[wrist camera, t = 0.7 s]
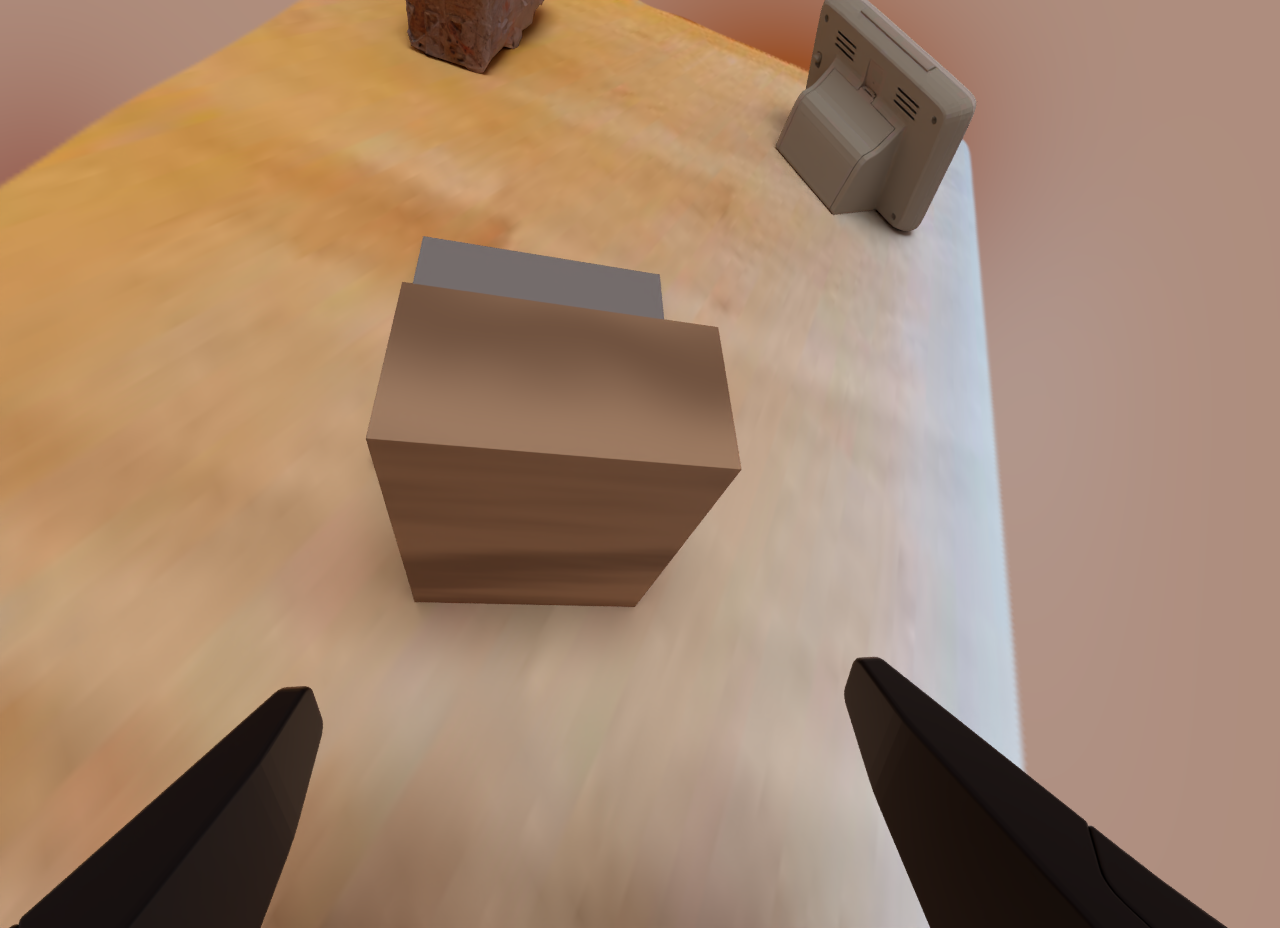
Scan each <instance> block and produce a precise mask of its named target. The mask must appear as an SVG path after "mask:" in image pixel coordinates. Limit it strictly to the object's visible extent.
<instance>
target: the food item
mask: <svg viewBox="0 0 1280 928" xmlns="http://www.w3.org/2000/svg"><path fill="white" fill-rule="evenodd" d="M543 1H544V0H406V11H407V16H408V27H409V29H408V31H407V33H408V35H409V38H410V42H411V45H412V46H413V47H415V48H417V49H419V50H421V51H423V52H424V53H425V54H427V55H428V54H429V55H431V56H434V57H437V58H441V59H443V60H447V61H450V62H452V63H456V64H459V65H462V66H465V67H466V68H467V69H468V70H470V71H473V72H476V73H482V72H484V70H485V69H486V67H487V66H488V64H489V62H490V61H491V59H492V58H493V57H494V56H495V55H496V54H497V53H498V52H499V51H500V50H501V48H502V47H503V46H504V47H508V48H513V49H514V48H517V47H518V46H519V42H520V40H521V38H522V30H523V29H525V28H527V27H528V26H529V25H530V24H532V21H533V15H534V14H535V11H536V9H537V8H538V7H539V5H542V3H543ZM411 40H413V41H411Z"/></svg>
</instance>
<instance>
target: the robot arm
mask: <svg viewBox="0 0 1280 928" xmlns="http://www.w3.org/2000/svg"><path fill="white" fill-rule="evenodd" d="M844 698H845V703H846V707H847V710H848V713H849V716H850V719H851V723H852V726H853V729H854V732H855V736H856V739H857V742H858V745H859V749H860V752H861V755H862V758H863V761H864V765H865V768H866V771H867V774H868V777H869V780H870V783H871V786H872V789H873V792H874V795H875V797H876V800H877V802H878V805H879V807H880V810H881V812H882V814H883V817H884V819H885V822H886V824H887V826H888V829H889V831H890V833H891V836H892V838H893V841H894V843H895V845H896V848H897V850H898V852H899V855H900V857H901V860H902V862H903V864H904V867H905V869H906V871H907V874H908V876H909V879H910V881H911V883H912V886H913V888H914V890H915V893H916V895H917V898H918V900H919V902H920V905H921V907H922V909H923V912H924V914H925V917H926V919H927V921H928V924H929V926H930V928H1227V927H1226V926H1224V925H1223V924H1222V923H1220V922H1219V921H1217V920H1216V919H1215V918H1213V917H1212V916H1210V915H1209V914H1207V913H1206V912H1205V911H1203V910H1202V909H1201V908H1199V907H1198V906H1196V905H1195V904H1194V903H1192V902H1191V901H1190V900H1188V899H1187V898H1186V897H1184V896H1183V895H1181V894H1180V893H1179V892H1177V891H1176V890H1175V889H1173V888H1172V887H1170V886H1169V885H1168V884H1166V883H1165V882H1164V881H1162V880H1161V879H1160V878H1158V877H1157V876H1155V875H1154V874H1153V873H1152V872H1150V871H1149V870H1148V869H1147V868H1145V867H1144V866H1143V865H1141V864H1140V863H1139V862H1138V861H1136V860H1135V859H1134V858H1132V857H1131V856H1130V855H1128V854H1127V853H1126V852H1125V851H1123V850H1122V849H1120V848H1119V847H1118V846H1117V845H1116V844H1114V843H1113V842H1112V841H1111V840H1109V839H1108V838H1107V837H1105V836H1104V835H1103V834H1102V833H1100V832H1099V831H1098V830H1097V829H1095V828H1094V827H1093V826H1088V824H1087V822H1086V821H1085V820H1084V819H1083V818H1081V817H1080V816H1079V815H1077V814H1076V813H1075V812H1074V811H1073V810H1071V809H1070V808H1069V807H1068V806H1066V805H1065V804H1064V803H1062V802H1061V801H1060V800H1059V799H1058V798H1056V797H1055V796H1054V795H1052V794H1051V793H1050V792H1049V791H1047V790H1046V789H1045V788H1044V787H1042V786H1041V785H1040V784H1039V783H1037V782H1036V781H1035V780H1034V779H1032V778H1031V777H1030V776H1029V775H1027V774H1026V773H1025V772H1024V771H1022V770H1021V769H1020V768H1019V767H1017V766H1016V765H1015V764H1014V763H1012V762H1011V761H1010V760H1008V759H1007V758H1006V757H1005V756H1003V755H1002V754H1001V753H1000V752H998V751H997V750H996V749H995V748H993V747H992V746H991V745H990V744H988V743H987V742H986V741H985V740H983V739H982V738H981V737H980V736H978V735H977V734H976V733H975V732H973V731H972V730H971V729H970V728H968V727H967V726H966V725H964V724H963V723H962V722H961V721H959V720H958V719H957V718H956V717H954V716H953V715H952V714H951V713H949V712H948V711H947V710H946V709H944V708H943V707H942V706H941V705H939V704H938V703H937V702H936V701H934V700H933V699H932V698H931V697H929V696H928V695H927V694H926V693H924V692H923V691H922V690H920V689H919V688H918V687H917V686H915V685H914V684H913V683H912V682H910V681H909V680H908V679H907V678H905V677H904V676H903V675H902V674H900V673H899V672H898V671H897V670H895V669H894V668H893V667H892V666H890V665H889V664H888V663H887V662H885V661H884V660H882V659H881V658H878V657H862V658H857V659H856V660H855V661H854V662H853V665H852V668H851V671H850V674H849V677H848V680H847V683H846V686H845V690H844ZM322 730H323V721H322V717H321V714H320V711H319V708H318V705H317V702H316V699H315V696H314V693H313V691H312V689H311V688H309V687H306V686H300V687H285V688H282V689H280V690H278V691H277V692H275V693H274V694H273V695H272V696H271V697H270V698H268V699H267V700H266V701H265V702H264V703H263V704H262V705H260V706H259V707H258V708H257V709H256V710H255V711H254V712H253V713H251V714H250V715H249V716H248V717H247V718H246V719H245V720H244V721H242V722H241V723H240V724H239V725H238V726H237V727H236V728H235V729H233V730H232V731H231V732H230V733H229V734H228V735H227V736H226V737H224V738H223V739H222V740H221V741H220V742H219V743H218V744H217V745H215V746H214V747H213V748H212V749H211V750H210V751H209V752H207V753H206V754H205V755H204V756H203V757H202V758H201V759H200V760H198V761H197V762H196V763H195V764H194V765H193V766H192V767H191V768H189V769H188V770H187V771H186V772H185V773H184V774H183V775H182V776H180V777H179V778H178V779H177V780H176V781H175V782H174V783H173V784H171V785H170V786H169V787H168V788H167V789H166V790H165V791H164V792H162V793H161V794H160V795H159V796H158V797H157V798H156V799H154V800H153V801H152V802H151V803H150V804H149V805H148V806H147V807H145V808H144V809H143V810H142V811H141V812H140V813H139V814H138V815H136V816H135V817H134V818H133V819H132V820H131V821H130V822H129V823H127V824H126V825H125V826H124V827H123V828H122V829H121V830H120V831H118V832H117V833H116V834H115V835H114V836H113V837H112V838H111V839H109V840H108V841H107V842H106V843H105V844H104V845H103V846H101V847H100V848H99V849H98V850H97V851H96V852H95V853H94V854H92V855H91V856H90V857H89V858H88V859H87V860H86V861H85V862H83V863H82V864H81V865H80V866H79V867H78V868H77V869H76V870H74V871H73V872H72V873H71V874H70V875H69V876H68V877H67V878H65V879H64V880H63V881H62V882H61V883H60V884H59V885H58V886H56V887H55V888H54V889H53V890H52V891H51V892H50V893H48V894H47V895H46V896H45V897H44V898H43V899H42V900H41V901H39V902H38V903H37V904H36V905H35V906H34V907H33V908H32V909H30V910H29V911H28V912H27V913H26V914H25V915H24V916H23V917H22V918H21V919H20V921H19V925H18V924H16V925H13V926H11V927H10V928H261V925H262V923H263V920H264V917H265V915H266V912H267V909H268V907H269V904H270V901H271V899H272V896H273V893H274V891H275V888H276V885H277V883H278V880H279V878H280V875H281V872H282V870H283V867H284V864H285V862H286V859H287V856H288V854H289V851H290V848H291V845H292V842H293V839H294V836H295V833H296V829H297V826H298V822H299V819H300V815H301V811H302V808H303V804H304V800H305V796H306V793H307V789H308V785H309V781H310V778H311V774H312V770H313V766H314V763H315V759H316V755H317V751H318V747H319V744H320V740H321V736H322Z"/></svg>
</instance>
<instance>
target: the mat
mask: <svg viewBox="0 0 1280 928" xmlns="http://www.w3.org/2000/svg"><path fill="white" fill-rule="evenodd" d="M413 284H420V285H427V286H434V287H441V288H448V289H455V290H462V291H469V292H476V293H483V294H490V295H497V296H504V297H511V298H518V299H525V300H532V301H538V302H545V303H552V304H559V305H566V306H573V307H580V308H587V309H594V310H601V311H608V312H615V313H622V314H629V315H636V316H643V317H650V318H657V319H664V313H663V303H662V293H661V283H660V275H659V274H653V273H646V272H640V271H634V270H628V269H622V268H616V267H609V266H603V265H597V264H591V263H585V262H579V261H573V260H566V259H560V258H554V257H548V256H542V255H536V254H529V253H523V252H517V251H511V250H505V249H499V248H493V247H486V246H480V245H474V244H468V243H462V242H456V241H450V240H443V239H437V238H431V237H425V236H423V240H422V245H421V249H420V254H419V258H418V263H417V267H416V272H415V276H414V281H413Z"/></svg>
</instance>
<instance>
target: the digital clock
mask: <svg viewBox="0 0 1280 928" xmlns="http://www.w3.org/2000/svg"><path fill="white" fill-rule="evenodd" d="M975 108H976V100H975V97H974V96H973V94H972V93H971V92H970V91H969V90H968V89H967V88H966V87H965V86H964V85H963V84H962V83H961V82H960V81H958V80H957V79H956V78H955V77H954V76H953V75H952V74H951V73H950V72H948V71H947V70H946V69H945V68H944V67H943V66H942V65H941V64H939V63H938V62H937V61H936V60H935V59H934V58H933V57H931V56H930V55H929V54H928V53H927V52H926V51H925V50H924V49H922V48H921V47H920V46H919V45H918V44H917V43H915V42H914V41H913V40H912V39H911V38H910V37H909V36H908V35H907V34H905V33H904V32H903V31H902V30H901V29H900V28H899V27H897V26H896V25H895V24H894V23H893V22H892V21H891V20H890V19H888V18H887V17H886V16H885V15H884V14H883V13H882V12H880V11H879V10H878V9H877V8H876V7H875V6H874V5H872V4H871V3H870V2H869V1H868V0H825V1H824V4H823V6H822V10H821V14H820V19H819V24H818V28H817V34H816V39H815V44H814V49H813V54H812V60H811V65H810V70H809V75H808V80H807V85H806V90H804V91H803V92H802V93H801V94H800V95H799V97H798V98H797V100H796V102H795V104H794V106H793V108H792V110H791V113H790V115H789V117H788V119H787V121H786V124H785V126H784V128H783V130H782V133H781V135H780V137H779V139H778V142H777V144H776V148H777V149H778V150H779V152H780V153H781V154H782V155H783V156H784V157H785V159H786V160H787V161H788V162H789V163H790V164H791V166H792V167H793V168H794V169H795V170H796V171H797V173H798V174H799V175H800V176H801V177H802V178H803V180H804V181H805V182H806V183H807V184H808V186H809V187H810V188H811V189H812V190H813V191H814V193H815V194H816V195H817V196H818V197H819V198H820V200H821V201H822V202H823V203H824V204H825V205H826V207H827V208H828V209H829V210H830V211H831V212H832V214H844V213H853V212H861V211H870V210H877V211H878V212H879V213H880V214H881V215H882V216H883V217H884V218H885V219H886V220H887V221H888V222H889V223H890V224H891V225H892V226H893V227H895V228H897V229H899V230H903V231H911V230H914V229H916V228H917V227H918V226H919V225H920V223H921V221H922V220H923V218H924V216H925V214H926V212H927V210H928V208H929V206H930V204H931V202H932V200H933V198H934V196H935V194H936V191H937V189H938V187H939V185H940V183H941V181H942V179H943V177H944V175H945V173H946V171H947V169H948V167H949V165H950V163H951V161H952V159H953V157H954V155H955V153H956V151H957V149H958V147H959V145H960V143H961V140H962V138H963V136H964V134H965V132H966V130H967V128H968V126H969V124H970V121H971V119H972V117H973V114H974V111H975Z"/></svg>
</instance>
